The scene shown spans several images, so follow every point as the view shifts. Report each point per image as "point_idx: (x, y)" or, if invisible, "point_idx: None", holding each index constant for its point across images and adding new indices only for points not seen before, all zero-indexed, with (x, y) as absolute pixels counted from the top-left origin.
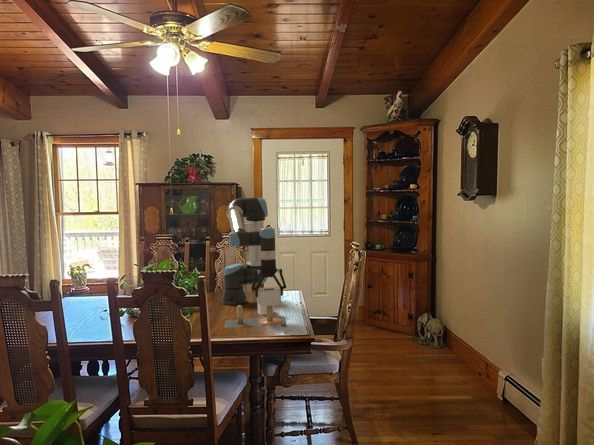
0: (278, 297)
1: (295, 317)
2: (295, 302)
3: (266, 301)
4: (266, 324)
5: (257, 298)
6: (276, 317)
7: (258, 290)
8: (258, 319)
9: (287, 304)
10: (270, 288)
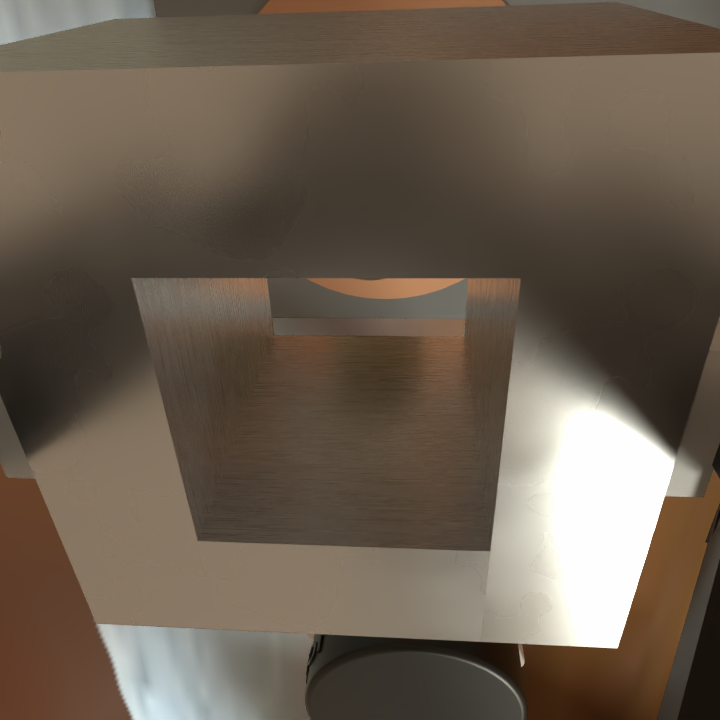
0: (61, 41)
1: None
2: (160, 717)
3: (446, 18)
4: None
5: (522, 652)
6: (297, 304)
7: (701, 425)
8: None
9: (220, 691)
10: (294, 542)
